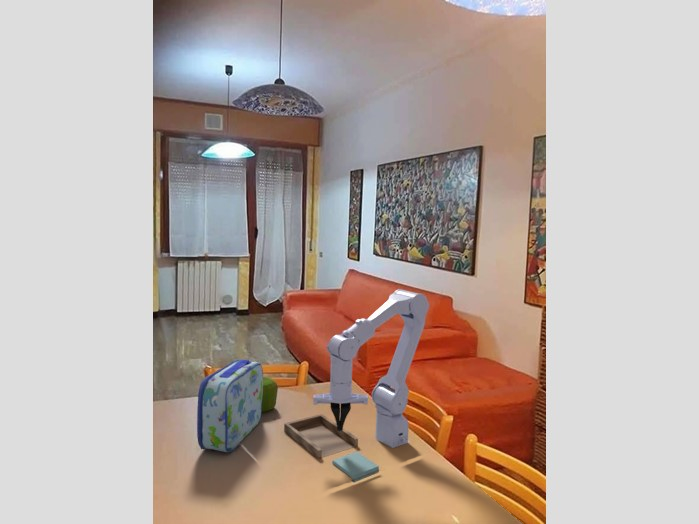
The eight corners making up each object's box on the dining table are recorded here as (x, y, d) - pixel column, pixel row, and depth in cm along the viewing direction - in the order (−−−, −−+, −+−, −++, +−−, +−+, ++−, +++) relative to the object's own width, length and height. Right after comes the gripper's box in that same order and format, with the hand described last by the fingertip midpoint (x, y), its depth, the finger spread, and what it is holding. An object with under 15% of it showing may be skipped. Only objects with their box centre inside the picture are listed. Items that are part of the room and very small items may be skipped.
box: (357, 448, 131) (358, 438, 131) (318, 461, 123) (318, 450, 123) (321, 423, 146) (321, 413, 146) (284, 433, 139) (284, 423, 138)
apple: (236, 412, 152) (237, 380, 151) (253, 400, 162) (253, 370, 161) (268, 418, 149) (268, 385, 148) (282, 405, 159) (283, 374, 158)
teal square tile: (378, 474, 119) (378, 466, 119) (353, 484, 114) (354, 475, 114) (356, 459, 126) (356, 451, 126) (332, 468, 121) (332, 460, 121)
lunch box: (234, 415, 150) (235, 351, 148) (266, 419, 148) (267, 354, 146) (191, 455, 124) (191, 378, 122) (228, 460, 122) (229, 383, 120)
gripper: (366, 375, 130) (364, 422, 131) (313, 375, 129) (312, 422, 130) (369, 384, 123) (367, 434, 124) (313, 384, 122) (312, 434, 123)
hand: (339, 429), depth 127 cm, fingers closed
